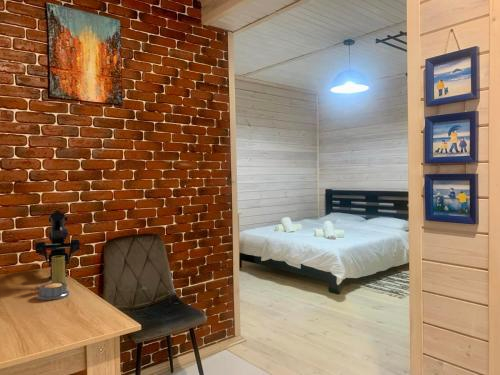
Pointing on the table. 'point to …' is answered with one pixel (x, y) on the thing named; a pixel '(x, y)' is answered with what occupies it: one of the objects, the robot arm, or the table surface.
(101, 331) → the table surface
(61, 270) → the vase
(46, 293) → the collar
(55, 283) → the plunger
